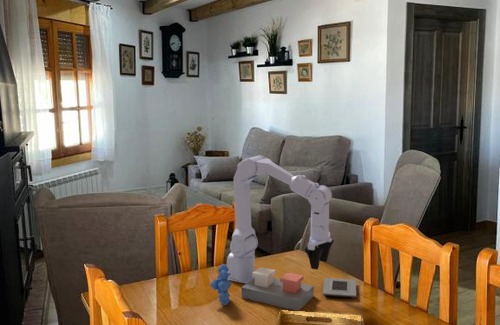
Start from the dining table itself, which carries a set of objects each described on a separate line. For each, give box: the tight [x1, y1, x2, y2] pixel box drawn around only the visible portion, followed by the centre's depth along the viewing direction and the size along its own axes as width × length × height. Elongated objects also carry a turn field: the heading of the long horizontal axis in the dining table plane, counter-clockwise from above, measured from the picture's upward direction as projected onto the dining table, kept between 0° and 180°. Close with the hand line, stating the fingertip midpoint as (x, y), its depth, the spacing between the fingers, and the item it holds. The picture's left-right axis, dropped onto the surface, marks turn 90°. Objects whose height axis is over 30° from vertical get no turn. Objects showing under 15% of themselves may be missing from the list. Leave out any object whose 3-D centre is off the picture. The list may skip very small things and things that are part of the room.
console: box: [241, 277, 315, 311], centre depth 160 cm, size 20×12×4 cm, turn 61°
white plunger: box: [252, 267, 276, 288], centre depth 162 cm, size 6×6×5 cm
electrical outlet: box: [322, 277, 357, 299], centre depth 165 cm, size 13×10×2 cm
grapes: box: [210, 263, 232, 306], centre depth 156 cm, size 12×7×12 cm, turn 5°
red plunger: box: [279, 272, 305, 294], centre depth 158 cm, size 6×6×5 cm
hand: (319, 265), depth 161 cm, fingers open, 7 cm apart
